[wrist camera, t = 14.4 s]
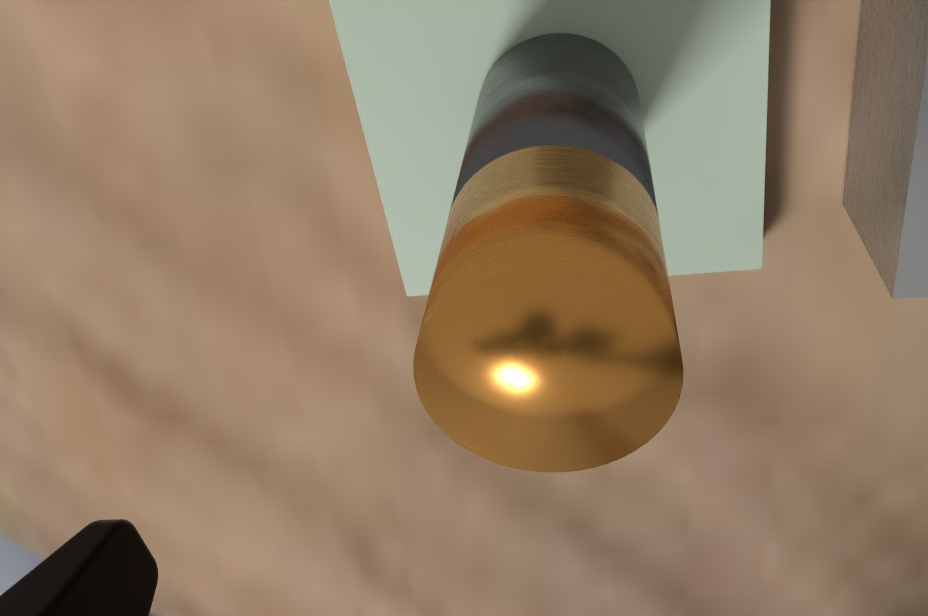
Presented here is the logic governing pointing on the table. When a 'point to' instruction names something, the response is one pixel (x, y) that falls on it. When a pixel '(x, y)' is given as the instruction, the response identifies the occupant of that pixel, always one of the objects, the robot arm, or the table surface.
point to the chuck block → (891, 143)
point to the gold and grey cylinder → (552, 271)
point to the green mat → (660, 94)
